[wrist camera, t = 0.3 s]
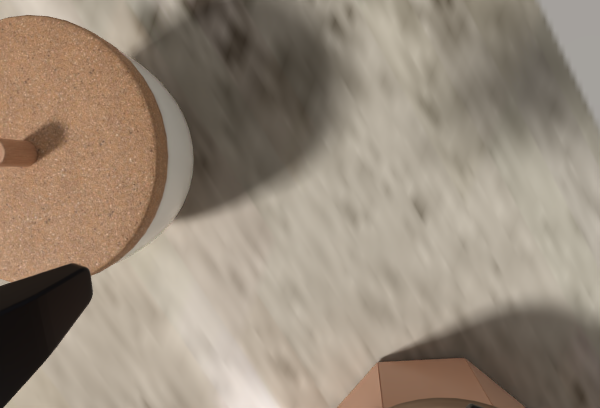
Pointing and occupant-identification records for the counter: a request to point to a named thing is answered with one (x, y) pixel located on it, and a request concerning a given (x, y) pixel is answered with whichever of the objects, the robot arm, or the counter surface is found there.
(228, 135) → the counter surface
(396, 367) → the bowl
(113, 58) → the lidded jar
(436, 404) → the lid
